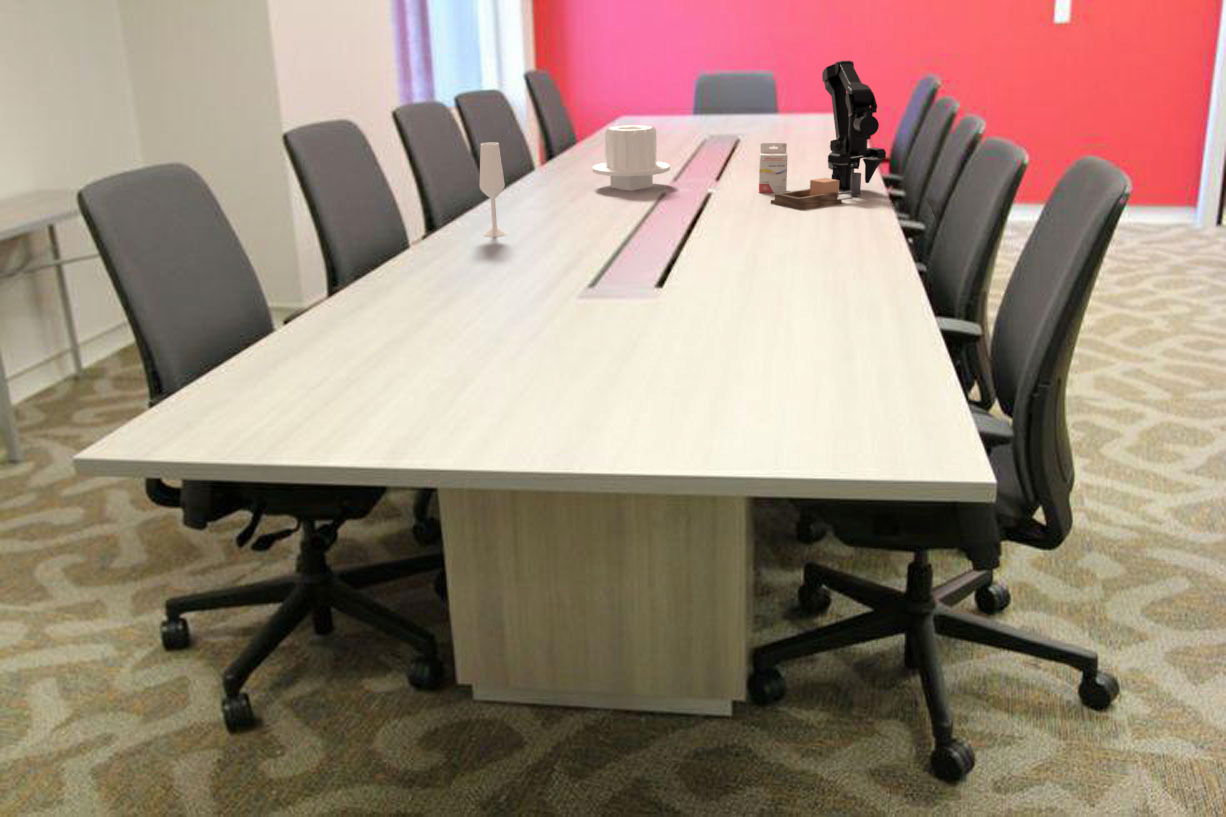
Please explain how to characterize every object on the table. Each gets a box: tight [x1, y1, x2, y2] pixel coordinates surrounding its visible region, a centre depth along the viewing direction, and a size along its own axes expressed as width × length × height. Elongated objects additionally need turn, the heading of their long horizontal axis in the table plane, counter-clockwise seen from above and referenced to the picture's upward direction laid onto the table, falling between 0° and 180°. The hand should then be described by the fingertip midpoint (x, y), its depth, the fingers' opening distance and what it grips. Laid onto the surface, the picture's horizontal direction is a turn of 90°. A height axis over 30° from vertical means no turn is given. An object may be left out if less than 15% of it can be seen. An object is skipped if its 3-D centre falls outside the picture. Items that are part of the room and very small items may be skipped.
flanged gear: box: [592, 124, 671, 192], centre depth 377 cm, size 25×25×19 cm
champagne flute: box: [479, 141, 508, 238], centre depth 312 cm, size 7×7×24 cm
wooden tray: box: [770, 188, 843, 211], centre depth 345 cm, size 15×14×3 cm
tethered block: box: [809, 172, 862, 198], centre depth 351 cm, size 17×6×6 cm, turn 122°
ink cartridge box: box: [758, 142, 788, 194], centre depth 364 cm, size 9×5×15 cm, turn 84°
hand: (855, 184), depth 354 cm, fingers open, 9 cm apart
